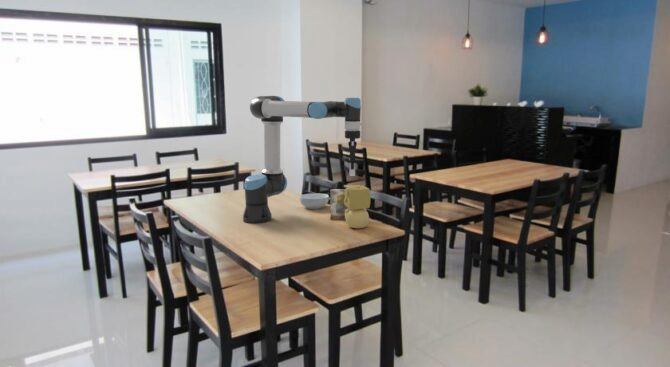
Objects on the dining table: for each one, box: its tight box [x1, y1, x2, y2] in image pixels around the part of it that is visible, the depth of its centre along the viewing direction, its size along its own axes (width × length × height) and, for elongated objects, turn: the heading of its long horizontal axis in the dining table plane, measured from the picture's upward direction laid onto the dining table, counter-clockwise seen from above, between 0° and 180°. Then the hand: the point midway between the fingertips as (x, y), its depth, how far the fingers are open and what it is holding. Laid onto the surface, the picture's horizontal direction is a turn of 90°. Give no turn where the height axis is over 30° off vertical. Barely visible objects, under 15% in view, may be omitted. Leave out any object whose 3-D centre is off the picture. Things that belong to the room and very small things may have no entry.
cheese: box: [344, 184, 371, 210], centre depth 229 cm, size 10×11×10 cm
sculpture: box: [345, 208, 370, 229], centre depth 231 cm, size 12×12×11 cm
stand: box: [329, 188, 349, 221], centre depth 246 cm, size 14×6×16 cm, turn 88°
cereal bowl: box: [299, 192, 330, 210], centre depth 271 cm, size 17×17×7 cm
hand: (352, 173), depth 228 cm, fingers open, 13 cm apart
